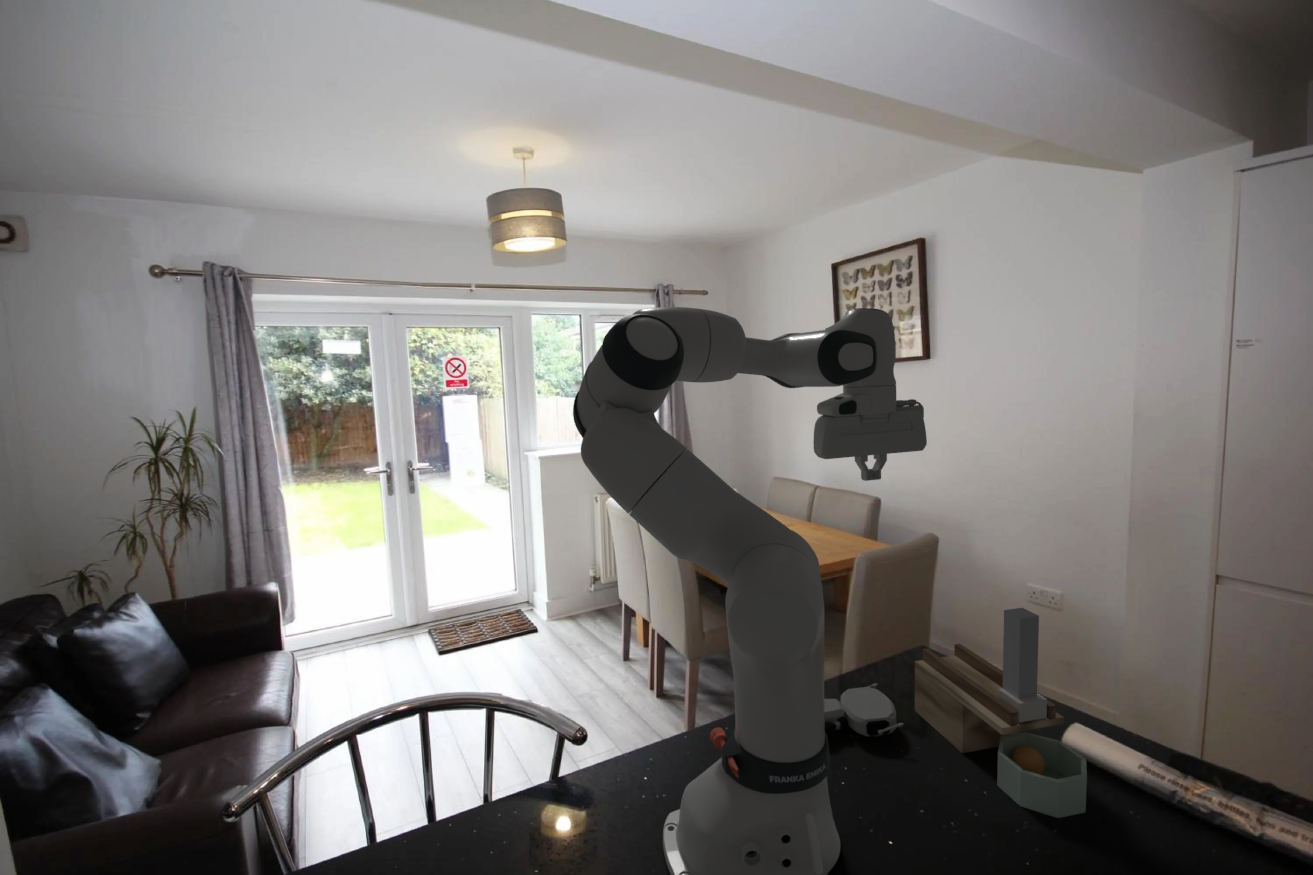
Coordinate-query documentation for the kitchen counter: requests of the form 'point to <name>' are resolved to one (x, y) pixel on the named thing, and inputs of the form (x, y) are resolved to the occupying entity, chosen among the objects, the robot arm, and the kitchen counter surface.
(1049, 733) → the kitchen counter surface
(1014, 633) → the tall post on base
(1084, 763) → the green octagonal bowl
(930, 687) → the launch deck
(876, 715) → the robot toy
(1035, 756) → the ball
